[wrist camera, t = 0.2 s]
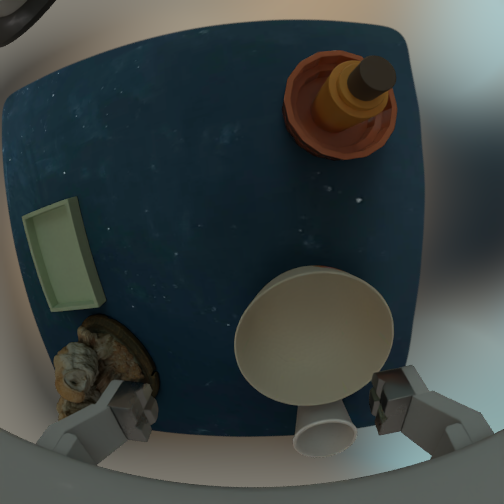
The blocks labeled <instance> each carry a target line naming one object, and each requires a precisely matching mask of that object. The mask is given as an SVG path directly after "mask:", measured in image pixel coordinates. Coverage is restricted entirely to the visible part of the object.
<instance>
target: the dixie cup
mask: <svg viewBox="0 0 504 504" xmlns="http://www.w3.org/2000/svg"><path fill="white" fill-rule="evenodd" d="M356 437H357V429H356V427H355V425H354V424H352V422H351V419H350V417H349V415H348V413H347V410H346V408H345V406H344V404H343V402H342V399H340V400H337V401H334V402H331V403H327V404H322V405H313V406H299V405H298V411H297V421H296V430H295V436H294V438H293V446H294V449H295V450H296V451H297V452H299V453H300V454H302V455H305V456H309V457H316V458H320V457H328V456H332V455H335V454H338V453H340V452H342V451H344V450H346V449H347V448H348V447H349V446H351V445H352V444H353V442H354V441H355V440H356Z"/></svg>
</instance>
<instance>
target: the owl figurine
mask: <svg viewBox="0 0 504 504" xmlns="http://www.w3.org/2000/svg"><path fill="white" fill-rule="evenodd" d="M107 317H108V316H106V315H102V314H96V315H91V316H89V317H88V318H87V319H85V320H84V322H83V323H82V326H80V327H79V328H78V339H79V341H78V342H71V343H69V344H68V345H67V346H66V347H63V349H62V350H61V351H59V352H58V355H56V356H55V357H54V367H55V368H56V370H55V377H56V381H55V386H56V389H57V391H58V393H59V394H60V395H61V398H60V399H59V403H57V411H58V413H59V417H58V418H59V420H58V421H60V420H62V419H64V418H66V417H68V416H70V415H72V414H74V413H76V412H78V411H80V410H81V409H83V408H85V407H87V406H89V405H91V404H96V403H97V401H98V400H99V398H100V397H101V395H102V394H103V392H104V391H105V389H106V388H107V386H108V385H109V383H110V382H111V381H112V380H114V379H115V380H123V381H133V382H142V383H148V384H150V387H151V389H152V393H151V396H152V397H153V398H155V397H156V395H157V393H158V390H159V378H158V373H157V372H155V373H154V375H153V376H151V374H152V372H153V371H154V370H155V369H156V368H155V365H154V362H153V360H152V359H151V357H150V355H149V354H148V352H147V351H146V349H145V348H144V346H143V345H142V343H141V342H140V341H139V340H138V339H137V338H136V337H135V336H134V335H133V334H132V332H130V331H129V330H128V329H127V328H126V327H125V326H123V325H122V324H120V323H119V322H118V321H116V320H113V319H109V318H107Z"/></svg>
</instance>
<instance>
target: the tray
mask: <svg viewBox="0 0 504 504" xmlns="http://www.w3.org/2000/svg"><path fill="white" fill-rule="evenodd" d="M22 220H23V224H24V228H25V232H26V236H27V240H28V244H29V247H30V251H31V254H32V258H33V261H34V264H35V268H36V271H37V274H38V277H39V280H40V283H41V286H42V289H43V291H44V294H45V297H46V300H47V302H48V305H49V307H50V310H51V312H56V311H67V310H77V309H87V308H97V307H100V306H101V305H102V304H103V303H104V302H105V301H106V298H105V295H104V292H103V289H102V286H101V283H100V280H99V277H98V274H97V271H96V267H95V264H94V261H93V258H92V254H91V251H90V247H89V244H88V240H87V236H86V232H85V229H84V225H83V221H82V216H81V212H80V208H79V203H78V199H77V197H72V198H68V199H65V200H62V201H60V202H57V203H54V204H52V205H49V206H47V207H44V208H41V209H39V210H36V211H34V212H31V213H29V214H27V215H24V216H22Z"/></svg>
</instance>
